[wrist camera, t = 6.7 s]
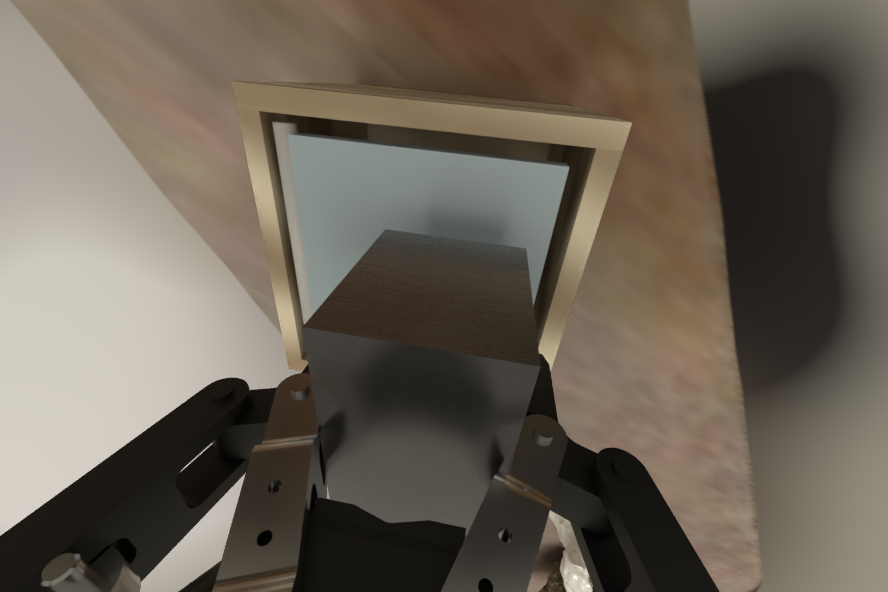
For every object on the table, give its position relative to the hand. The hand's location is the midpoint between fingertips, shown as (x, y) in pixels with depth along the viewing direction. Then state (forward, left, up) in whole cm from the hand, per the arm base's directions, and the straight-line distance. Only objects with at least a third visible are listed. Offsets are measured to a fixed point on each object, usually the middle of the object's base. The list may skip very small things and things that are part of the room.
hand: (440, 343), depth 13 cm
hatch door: (0, -2, -6) cm, 6 cm away
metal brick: (0, 0, -1) cm, 1 cm away
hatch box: (0, -2, -19) cm, 19 cm away
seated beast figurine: (+36, +18, -19) cm, 45 cm away
